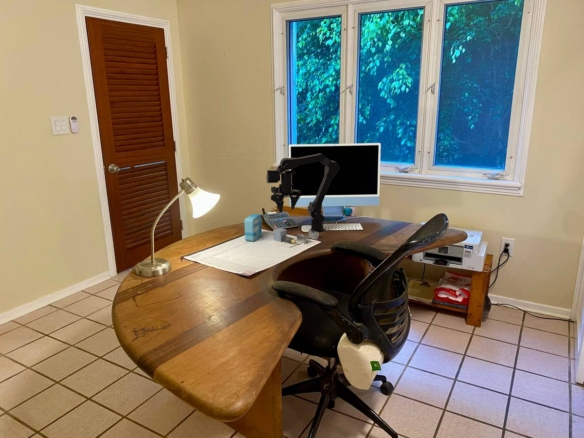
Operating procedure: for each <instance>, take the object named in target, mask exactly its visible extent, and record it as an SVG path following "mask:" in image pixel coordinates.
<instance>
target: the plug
mask: <svg viewBox="0 0 584 438" xmlns="http://www.w3.org/2000/svg"><path fill="white" fill-rule="evenodd" d="M287 232H288V231H287V229H285V228H281V227H278V228H276V229H273V232H272V235H273V239H272V240H274V241H278V242H283V241H284V242H287V243H291V244H293V243H294V244H295V243H296V241H297V239H294V238H293V237H290V236H288V235H287Z"/></svg>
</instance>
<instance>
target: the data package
mask: <svg viewBox="0 0 584 438" xmlns="http://www.w3.org/2000/svg"><path fill="white" fill-rule="evenodd" d="M262 226H263V225H262V215H261V214H260V213H258V214H257V213H252V214H250V215H249V216H247V217H245V218H244V239H245V242H256V241H257V240H258V239H259V238H261V236H262V234H263V232H262V228H263V227H262Z"/></svg>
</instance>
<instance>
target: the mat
mask: <svg viewBox="0 0 584 438" xmlns="http://www.w3.org/2000/svg"><path fill="white" fill-rule="evenodd" d="M269 243H271V244H276V245H277V246H279V245H280V246H282V247H286V248H289V249H290V248H293V247H296V246H299V245H300V244H303V243H302V242H298V241H297V240H296V243H295V244H294V243H293V244H291V243H287V242H284V241H283V242H278V241H274V240H273V239H271V240H269ZM298 244H299V245H298Z"/></svg>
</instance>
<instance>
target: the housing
mask: <svg viewBox="0 0 584 438" xmlns="http://www.w3.org/2000/svg"><path fill="white" fill-rule="evenodd" d="M319 235H320V232H317V231H313V230H310V229H309V230H308V235H306V234H302V233H298V234H297V235H296V241H298V242H302V243H301V244H303V243H304V244H303V245H305V244H308V242H309V241H308V239H312V240H318V239H319V237H320V236H319Z"/></svg>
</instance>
